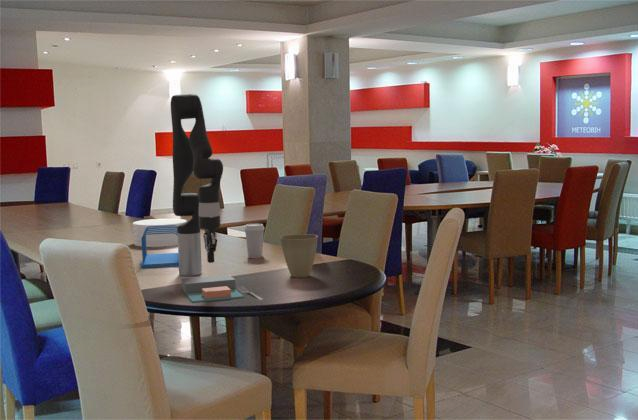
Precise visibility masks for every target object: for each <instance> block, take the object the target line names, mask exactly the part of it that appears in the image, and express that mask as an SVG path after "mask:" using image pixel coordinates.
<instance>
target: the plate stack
mask: <svg viewBox="0 0 638 420" xmlns="http://www.w3.org/2000/svg"><path fill="white" fill-rule="evenodd" d="M186 222H188V221H187V219H183V218H152V219H151V218H149V219H141V220H136V221H133V222H132V226H133V227H132V230H133V232H132V235H133V238H132V239H133V246H135V247H141V248H142V242H141V239H142V236H143V233H144V231H145V229H146V228H147V227H149V226H164V225H176V226H177V227H178V226H179V225H181V224H184V223H186ZM169 227H175V226H169ZM177 227H176V228H177ZM150 228H156V227H150ZM176 228H161V229H176ZM148 230H151V229H148ZM156 231H167V230H156ZM175 231H176V230H175ZM147 232H148V231H147ZM153 233H164V232H153ZM175 233H176V232H175ZM146 234H147V233H146ZM174 245H175V246H178V236H177V235H176V234H174V233H171V234H151V235H146V248H163V247H164V246H165V247H174Z"/></svg>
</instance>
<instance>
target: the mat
mask: <svg viewBox="0 0 638 420" xmlns="http://www.w3.org/2000/svg"><path fill="white" fill-rule="evenodd" d="M185 295H186V297H187V298H188V299H189V300H190V302H191V303H201V302H202V303H203V302H209V301H210V302H212V301H221V300H232V299H242V298H244V295H243V294H242V293H241V292H240V291H239V290H238V289H237V288H235V289H231V296H229V297H219V298H209V299H205V298H204V297H203V296H202V292H199V293H188V294H185Z"/></svg>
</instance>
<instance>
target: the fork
mask: <svg viewBox="0 0 638 420" xmlns="http://www.w3.org/2000/svg"><path fill="white" fill-rule="evenodd" d="M235 288H236V290H237V291H238V292H240V293H241V294H242V293H244V294H245V295H246V294H251V295H252V296H254V297H255V298H256V299H257V300H259V301H261V300H262V299H264V298H262V297H261V296H259V295H257V294H255V293H254V292H251V291H250V292H249V290H248V289H247V288H245V287H244V286H243V285H240V286H239V285H237V286H236V285H235Z"/></svg>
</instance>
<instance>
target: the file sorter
mask: <svg viewBox="0 0 638 420" xmlns="http://www.w3.org/2000/svg"><path fill="white" fill-rule="evenodd" d="M169 226H175V227H169ZM150 227H156V228H150ZM176 227H177V226H176V225H164V226H149V227H147V228H146V229H145V231H144V233H143V236H142V239H141V242H142V247H141V256H142V257H141V258H142V261H141V263H140V267H141V269H151V268H152V269H153V268H166V267H179V258H178V252H168V253H167V252H166V253H152V254H150V253H149V254H148V251H147V247H146V235H151V234H171V233H174V234H176V235H177V236H178V232H177V228H178V227H177V228H176ZM161 228H176V229H161ZM148 229H151V230H148ZM156 230H167V231H156ZM175 230H176V231H175ZM147 231H148V232H147ZM153 232H164V233H153ZM175 232H176V233H175ZM146 233H147V234H146Z"/></svg>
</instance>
